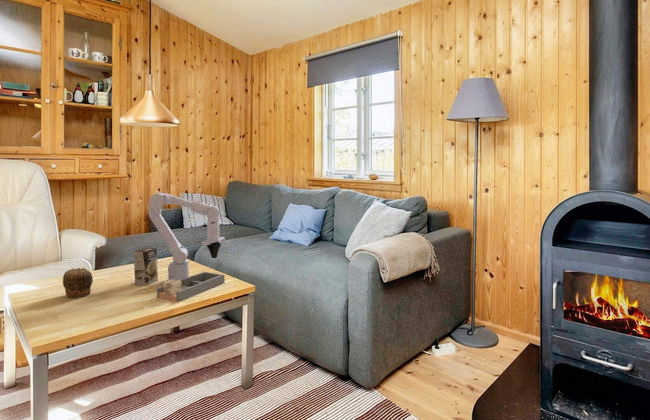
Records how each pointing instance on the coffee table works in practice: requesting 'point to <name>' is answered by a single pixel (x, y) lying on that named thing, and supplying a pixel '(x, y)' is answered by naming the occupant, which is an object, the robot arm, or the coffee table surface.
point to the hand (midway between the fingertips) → (214, 257)
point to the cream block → (172, 287)
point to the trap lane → (193, 286)
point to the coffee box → (145, 266)
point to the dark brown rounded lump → (77, 282)
